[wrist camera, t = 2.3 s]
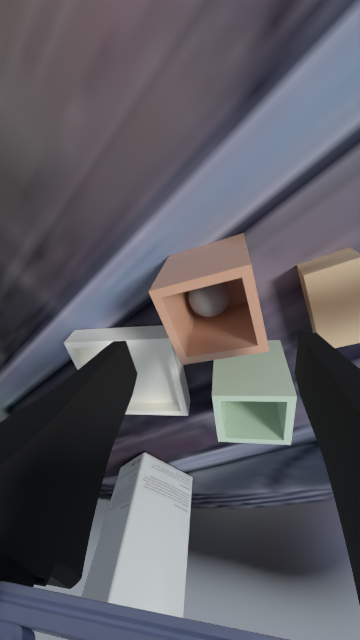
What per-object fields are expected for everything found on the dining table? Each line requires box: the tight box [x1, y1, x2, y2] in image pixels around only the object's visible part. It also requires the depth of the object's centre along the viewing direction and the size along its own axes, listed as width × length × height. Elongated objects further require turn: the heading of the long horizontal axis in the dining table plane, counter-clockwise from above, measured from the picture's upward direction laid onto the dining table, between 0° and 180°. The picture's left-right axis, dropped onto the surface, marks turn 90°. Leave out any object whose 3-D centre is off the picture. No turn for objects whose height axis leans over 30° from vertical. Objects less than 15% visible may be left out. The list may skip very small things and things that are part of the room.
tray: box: [64, 325, 190, 416], centre depth 22 cm, size 9×9×2 cm
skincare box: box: [82, 452, 193, 618], centre depth 27 cm, size 8×7×16 cm
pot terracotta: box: [148, 233, 269, 365], centre depth 15 cm, size 5×5×6 cm
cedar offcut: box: [297, 247, 360, 348], centre depth 16 cm, size 6×3×2 cm, turn 25°
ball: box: [189, 282, 230, 317], centre depth 16 cm, size 3×3×3 cm
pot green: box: [212, 340, 297, 445], centre depth 19 cm, size 5×5×6 cm
